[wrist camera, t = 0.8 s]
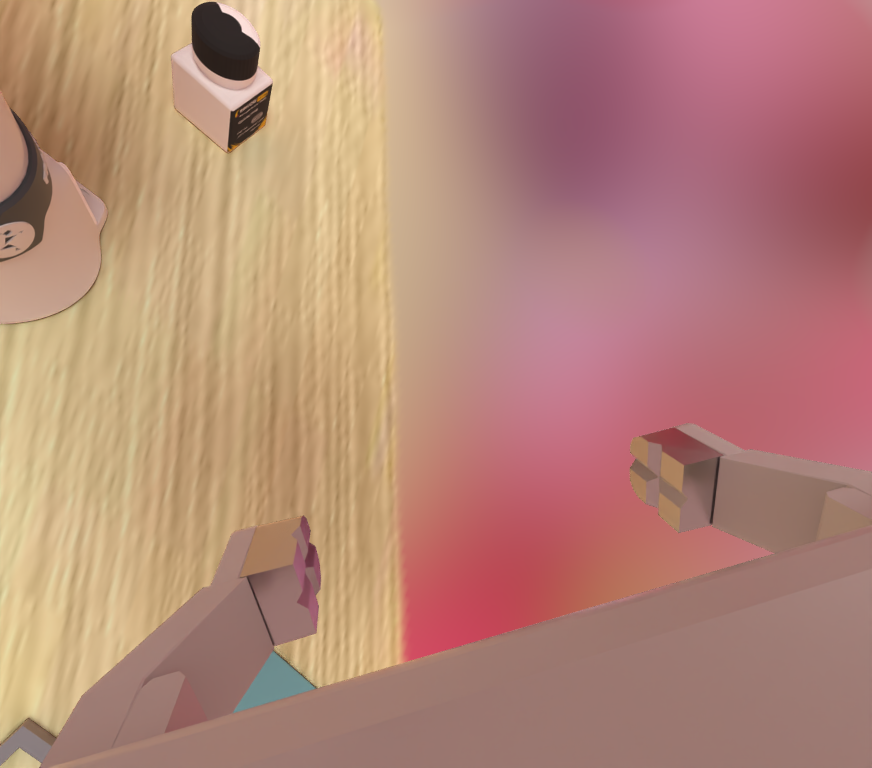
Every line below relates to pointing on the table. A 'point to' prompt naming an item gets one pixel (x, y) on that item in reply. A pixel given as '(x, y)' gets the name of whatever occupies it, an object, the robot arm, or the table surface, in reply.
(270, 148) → the table surface
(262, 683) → the mat
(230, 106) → the medicine bottle
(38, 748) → the grey flat square frame
